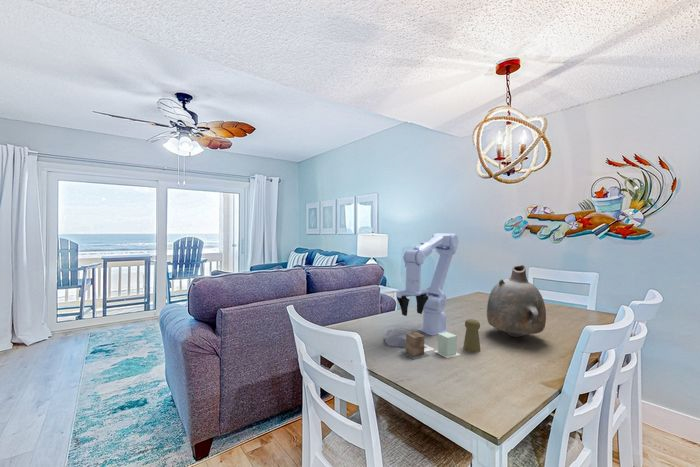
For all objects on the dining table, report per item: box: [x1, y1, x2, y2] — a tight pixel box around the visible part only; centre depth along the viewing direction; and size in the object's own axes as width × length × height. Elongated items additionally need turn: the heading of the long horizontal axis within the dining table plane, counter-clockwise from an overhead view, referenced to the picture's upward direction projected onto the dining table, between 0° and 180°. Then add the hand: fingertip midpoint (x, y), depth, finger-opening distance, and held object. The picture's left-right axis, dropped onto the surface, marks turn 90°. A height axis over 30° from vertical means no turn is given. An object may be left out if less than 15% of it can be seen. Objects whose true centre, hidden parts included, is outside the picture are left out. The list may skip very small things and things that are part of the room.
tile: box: [433, 349, 461, 359], centre depth 109 cm, size 6×6×1 cm
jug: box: [486, 264, 547, 338], centre depth 126 cm, size 24×21×30 cm
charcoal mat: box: [400, 349, 430, 361], centre depth 108 cm, size 7×7×1 cm
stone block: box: [384, 328, 411, 348], centre depth 119 cm, size 12×5×10 cm
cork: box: [462, 318, 481, 353], centre depth 113 cm, size 6×6×11 cm
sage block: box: [437, 331, 458, 356], centre depth 109 cm, size 4×4×6 cm
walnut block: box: [405, 331, 426, 357], centre depth 107 cm, size 4×4×6 cm
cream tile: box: [424, 343, 435, 353], centre depth 113 cm, size 6×6×1 cm
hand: (412, 314), depth 121 cm, fingers open, 7 cm apart
